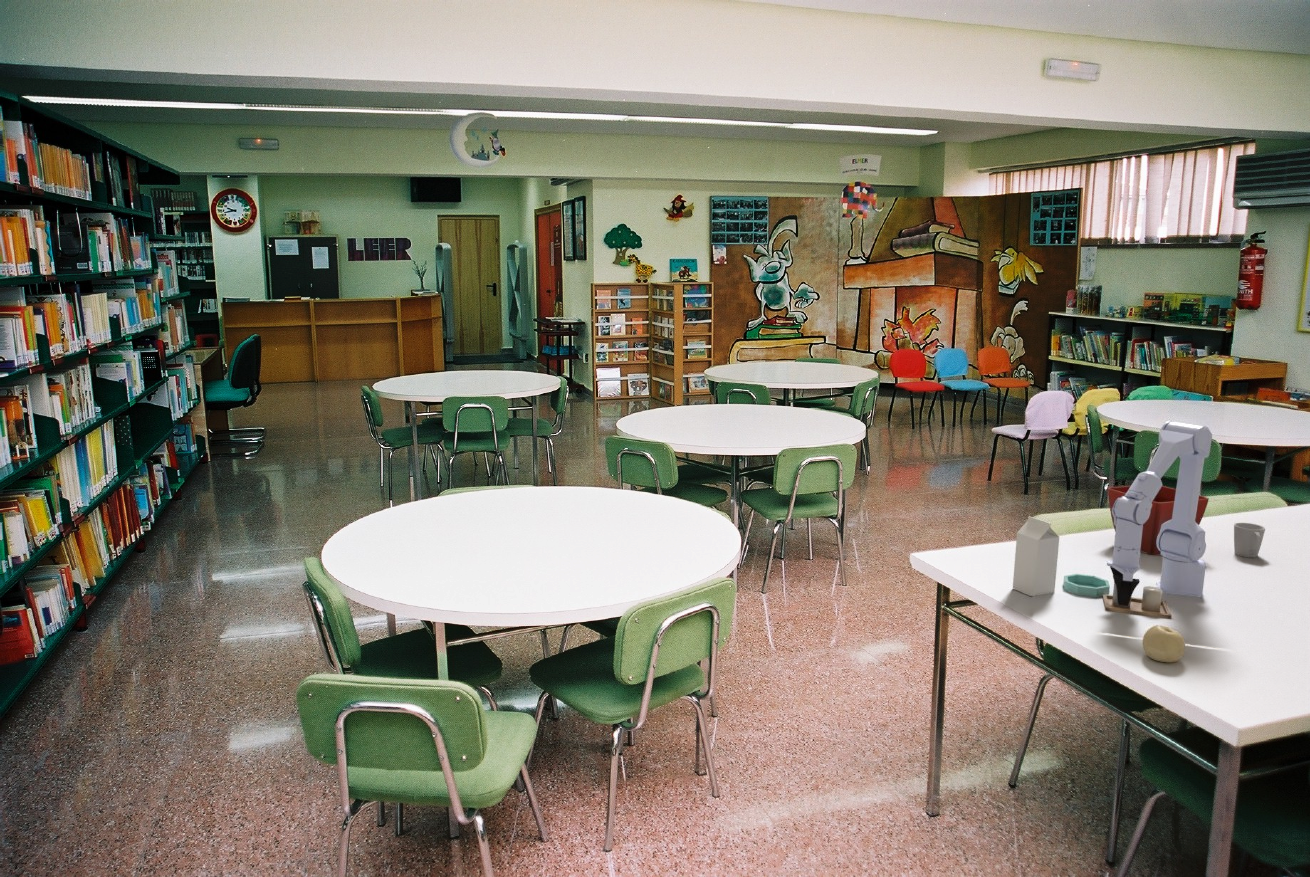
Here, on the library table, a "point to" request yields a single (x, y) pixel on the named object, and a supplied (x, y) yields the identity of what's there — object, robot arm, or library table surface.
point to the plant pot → (1156, 514)
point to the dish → (1086, 585)
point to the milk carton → (1036, 558)
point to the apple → (1163, 644)
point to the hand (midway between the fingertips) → (1121, 600)
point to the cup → (1248, 539)
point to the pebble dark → (1115, 601)
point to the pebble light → (1151, 599)
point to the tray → (1136, 607)
